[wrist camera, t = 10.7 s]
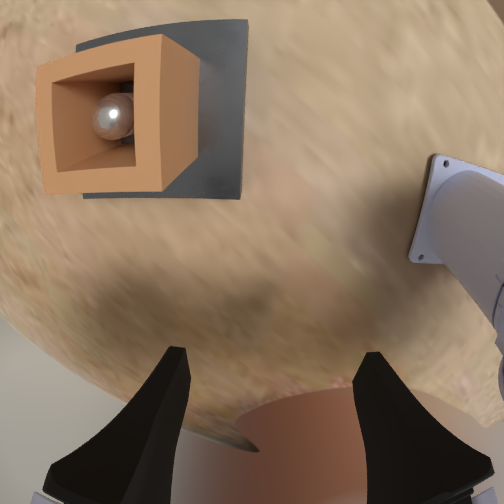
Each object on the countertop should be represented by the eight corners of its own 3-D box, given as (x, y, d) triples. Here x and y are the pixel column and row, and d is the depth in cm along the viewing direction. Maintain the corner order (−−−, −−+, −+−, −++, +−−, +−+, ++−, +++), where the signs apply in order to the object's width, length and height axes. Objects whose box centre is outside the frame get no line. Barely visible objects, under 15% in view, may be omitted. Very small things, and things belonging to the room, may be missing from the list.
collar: (200, 58, 12) (162, 33, 6) (197, 157, 14) (162, 191, 9) (106, 70, 12) (36, 67, 6) (108, 160, 14) (45, 195, 9)
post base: (248, 26, 12) (241, -17, 6) (241, 191, 17) (231, 242, 11) (89, 47, 12) (20, 38, 6) (94, 191, 17) (36, 234, 11)
